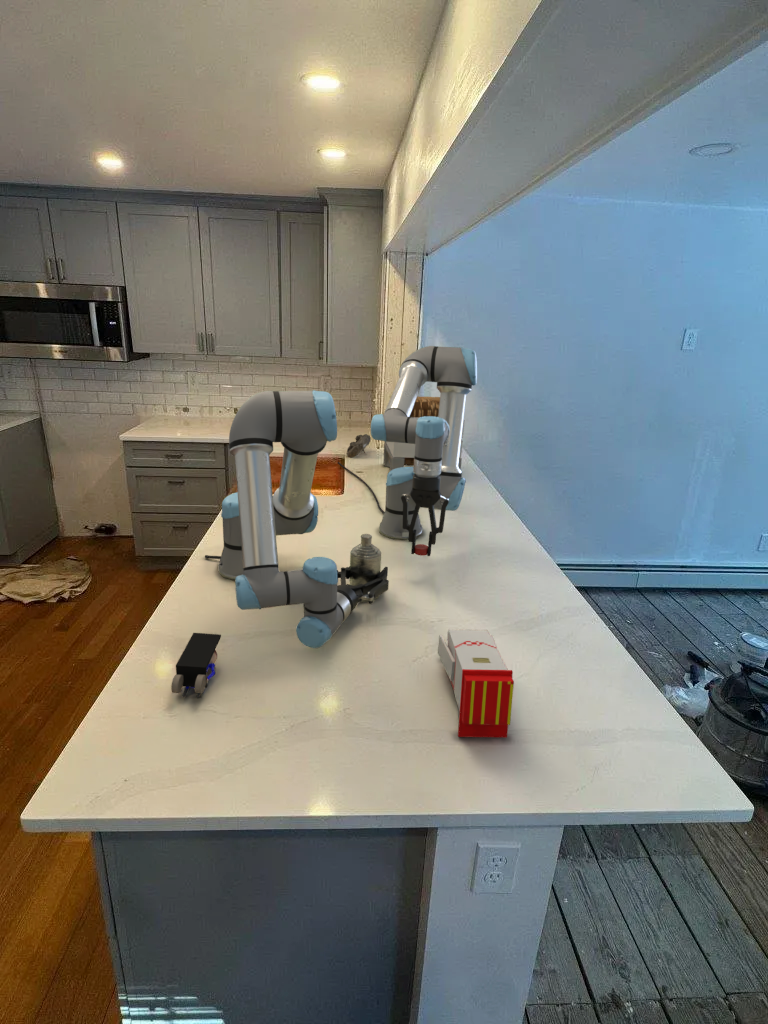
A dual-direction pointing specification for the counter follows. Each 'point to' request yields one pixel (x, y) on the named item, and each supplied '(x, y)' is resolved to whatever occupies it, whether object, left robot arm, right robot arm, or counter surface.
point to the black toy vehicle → (196, 663)
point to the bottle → (364, 562)
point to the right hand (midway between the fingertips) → (421, 553)
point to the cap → (421, 549)
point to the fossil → (358, 445)
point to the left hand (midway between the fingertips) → (371, 568)
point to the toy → (478, 682)
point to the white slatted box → (404, 452)
